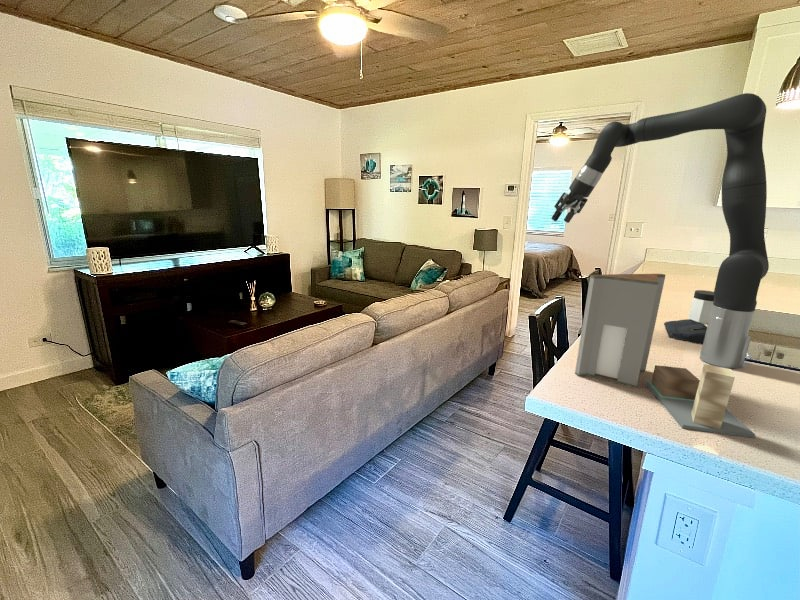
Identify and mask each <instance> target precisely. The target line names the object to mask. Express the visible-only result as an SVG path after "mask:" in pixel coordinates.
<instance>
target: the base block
mask: <svg viewBox="0 0 800 600" xmlns="http://www.w3.org/2000/svg"><path fill="white" fill-rule="evenodd" d="M699 381H700V378H697V377H696V376H695V374H694V373H692V372H691V371H690V370H688V369H687V368H685V367H676V366H675V367H674V366H666V365H658V364H657V365H656V364H655V365H654V368H653V373H652V377H651V381H650V382H651V383H652V384H653V385H654V386H655V388H656V389H657V390H658V391H659V392H660V393H661V394H662V396H666V397H674V398H683V399H691V400H695V397H696V393H697V389H698V385H699Z"/></svg>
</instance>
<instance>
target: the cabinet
mask: <svg viewBox="0 0 800 600" xmlns="http://www.w3.org/2000/svg"><path fill="white" fill-rule="evenodd" d="M665 280H666V274H665V273H621V274H620V273H619V274H616V273H614V274H590V276H589V282H588V287H587V294H586V299H585V300H586V301H585V306H584V307H585V308H584V312H583V313H584V314H583V320H582V326H581V333H580V340H579V344H578V345H579V346H578V350H577V351H578V353H577V358H576V365H575V371H574V374H575V375H576V377H591V378H595V379H599V380H603V381H607V382H610V383H616V384H619V385H622V386H627V387H630V388H634V389H637V387H638V383H639V378H640V373H645V372H646V370H647V364H648V360H649V355H650V351H651V345H652V340H653V336H654V331H655V326H656V322H657V318H658V313H659V308H660V303H661V298H662V293H663V289H664V284H665Z"/></svg>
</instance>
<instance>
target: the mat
mask: <svg viewBox="0 0 800 600" xmlns="http://www.w3.org/2000/svg"><path fill="white" fill-rule="evenodd" d="M651 382H652V381H648V380H647V381H645V386H646V387H647V388H648V389H649V390H650V392H651V393H652V394H653V395H654V396H655V397H656V399H657V400H658V401H659V402H660V404H661V405H662V406H663V407H664V408H665V409H666V411H667V412H668V413H669V414H670V415H671V417H672V418H673V419H674V420H675V422H676V424H678V425H679V427H681V429H685V430H691V431H693V430H694V431H700V432H706V433H708V432H709V433H716V434H721V435H729V436H735V437H736V436H737V437H745V438H751V439H752V438H753V439H754V438H755V437H756V434H755V433H754V432H753V431H752V430H751V429H749V428H748V427H747V426H746V425H745V424H744V423H743V422H742V421H741V420H739V418H737V417H736V416H735V414H733V413H732V412H730V411H729V410H728V409H727V408H726V411H725V414H724V418H723V421H722V425H721V428H720V429H716V428H712V427H709V426H705V425H701V424H697V423H694V422H693V419H692V409H693V405H694V401H695V400H691V399H683V398H674V397H666V396H662V394H661V393H660V392H659V391H658V390H657V389H656V388H655V386H654V385H653V384H652V383H651Z"/></svg>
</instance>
